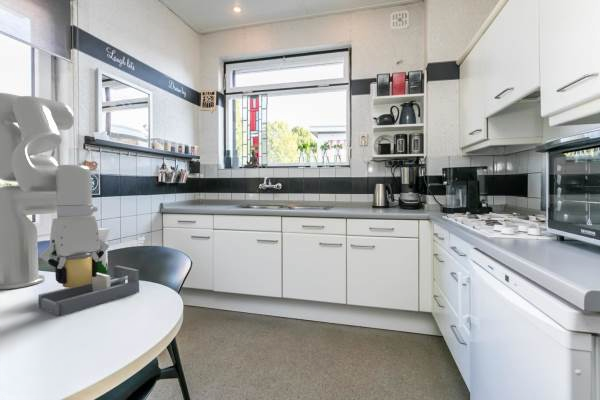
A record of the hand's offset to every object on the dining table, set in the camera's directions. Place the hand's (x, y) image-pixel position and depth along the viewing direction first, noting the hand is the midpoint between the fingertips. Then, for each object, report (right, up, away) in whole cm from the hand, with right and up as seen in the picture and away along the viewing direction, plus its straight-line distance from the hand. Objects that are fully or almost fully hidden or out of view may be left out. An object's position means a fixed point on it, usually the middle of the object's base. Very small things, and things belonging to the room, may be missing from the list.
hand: (77, 279), depth 81 cm
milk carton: (-6, -6, +14) cm, 17 cm away
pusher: (+5, -6, +9) cm, 11 cm away
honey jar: (0, -1, 0) cm, 1 cm away
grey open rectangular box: (+1, -6, +3) cm, 7 cm away
